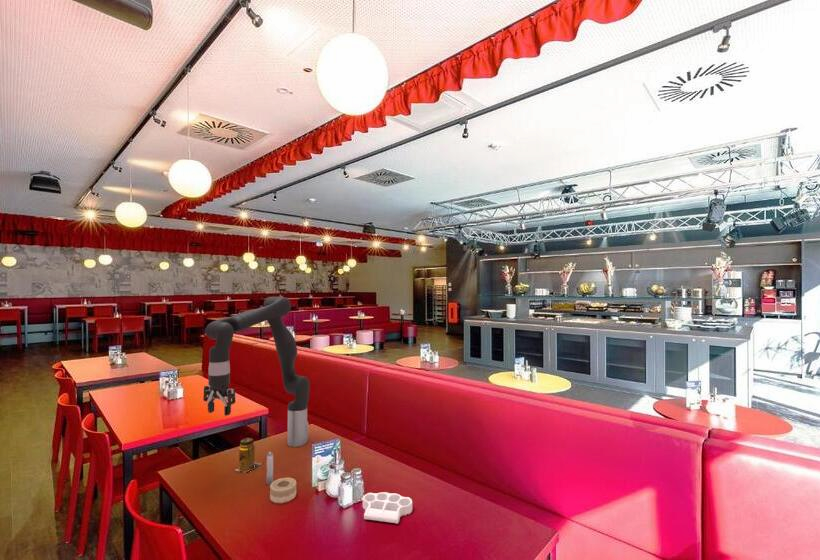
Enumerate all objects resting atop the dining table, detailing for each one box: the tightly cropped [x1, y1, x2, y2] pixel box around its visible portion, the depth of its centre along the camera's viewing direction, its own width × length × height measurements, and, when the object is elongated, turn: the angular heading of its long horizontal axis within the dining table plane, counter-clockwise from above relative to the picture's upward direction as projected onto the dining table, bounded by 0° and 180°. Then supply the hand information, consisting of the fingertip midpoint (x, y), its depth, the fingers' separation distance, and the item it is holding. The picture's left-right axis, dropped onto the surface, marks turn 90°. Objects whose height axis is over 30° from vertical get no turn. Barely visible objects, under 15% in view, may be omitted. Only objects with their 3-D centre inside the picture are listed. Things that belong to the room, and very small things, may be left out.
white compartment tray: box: [362, 491, 413, 524], centre depth 132 cm, size 3×18×15 cm
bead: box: [269, 477, 297, 504], centre depth 140 cm, size 9×9×4 cm
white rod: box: [266, 451, 274, 485], centre depth 149 cm, size 2×2×12 cm
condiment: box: [234, 437, 263, 472], centre depth 161 cm, size 7×8×12 cm
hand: (219, 413), depth 147 cm, fingers open, 8 cm apart
